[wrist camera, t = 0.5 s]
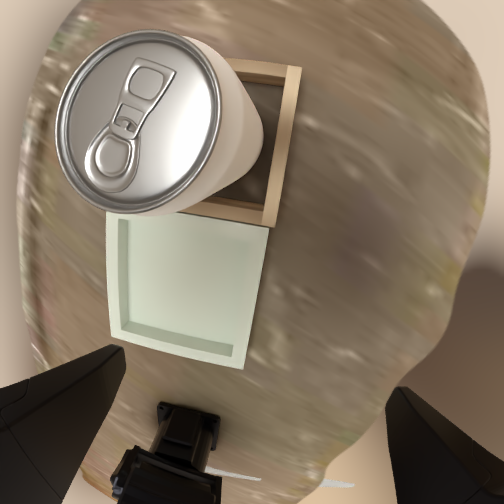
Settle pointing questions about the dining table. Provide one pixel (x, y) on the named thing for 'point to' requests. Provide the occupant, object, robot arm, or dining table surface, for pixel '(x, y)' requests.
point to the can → (154, 124)
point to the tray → (184, 283)
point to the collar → (290, 82)
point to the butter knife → (215, 471)
